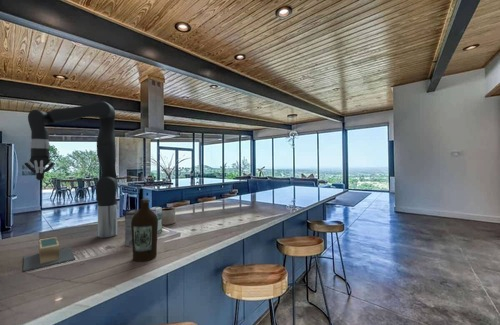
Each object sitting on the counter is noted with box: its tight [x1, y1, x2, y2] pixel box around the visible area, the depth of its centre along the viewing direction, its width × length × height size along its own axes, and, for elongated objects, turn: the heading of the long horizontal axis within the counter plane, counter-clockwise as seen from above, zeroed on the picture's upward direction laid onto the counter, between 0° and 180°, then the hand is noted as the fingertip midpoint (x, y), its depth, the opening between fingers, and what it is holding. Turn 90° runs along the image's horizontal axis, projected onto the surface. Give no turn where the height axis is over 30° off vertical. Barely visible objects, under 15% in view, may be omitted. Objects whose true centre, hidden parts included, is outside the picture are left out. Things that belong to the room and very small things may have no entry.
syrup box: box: [149, 206, 163, 234], centre depth 139 cm, size 6×6×14 cm
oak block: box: [38, 236, 60, 264], centre depth 103 cm, size 6×6×16 cm
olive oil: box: [131, 198, 158, 262], centre depth 103 cm, size 11×11×25 cm
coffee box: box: [124, 209, 140, 247], centre depth 122 cm, size 9×6×16 cm
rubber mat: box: [22, 247, 77, 272], centre depth 102 cm, size 18×16×1 cm
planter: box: [162, 207, 177, 226], centre depth 161 cm, size 11×11×10 cm
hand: (40, 180), depth 127 cm, fingers closed
